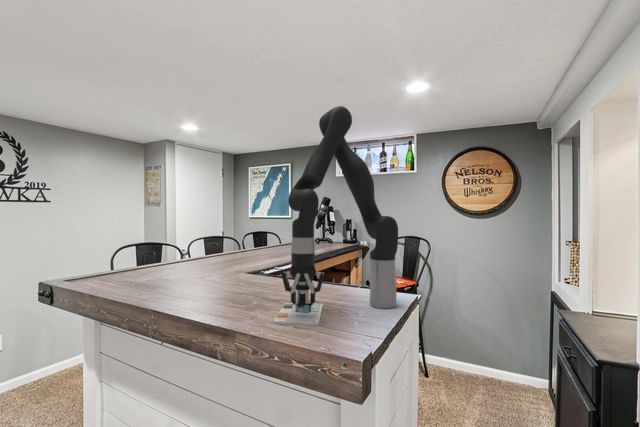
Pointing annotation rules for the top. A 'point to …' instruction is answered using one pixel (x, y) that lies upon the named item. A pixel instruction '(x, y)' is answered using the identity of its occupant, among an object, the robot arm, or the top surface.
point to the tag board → (298, 315)
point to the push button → (302, 298)
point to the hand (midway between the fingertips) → (303, 304)
